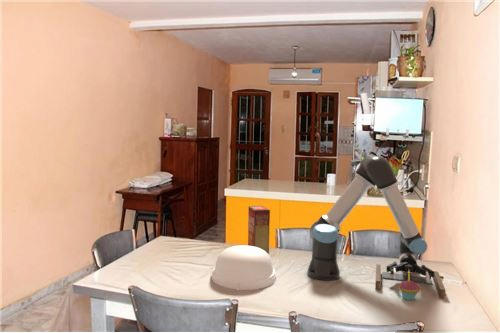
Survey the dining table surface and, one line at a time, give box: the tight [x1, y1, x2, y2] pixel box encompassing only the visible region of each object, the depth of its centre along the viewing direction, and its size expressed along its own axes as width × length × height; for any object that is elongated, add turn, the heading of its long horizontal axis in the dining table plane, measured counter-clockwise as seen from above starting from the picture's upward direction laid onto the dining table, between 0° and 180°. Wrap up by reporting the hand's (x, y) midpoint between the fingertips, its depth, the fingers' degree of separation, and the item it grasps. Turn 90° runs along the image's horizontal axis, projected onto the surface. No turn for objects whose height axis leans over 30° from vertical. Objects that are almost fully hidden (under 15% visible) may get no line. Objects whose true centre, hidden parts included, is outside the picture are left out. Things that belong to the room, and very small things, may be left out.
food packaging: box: [247, 205, 271, 255], centre depth 236 cm, size 13×9×25 cm
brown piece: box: [374, 264, 446, 300], centre depth 192 cm, size 28×24×4 cm
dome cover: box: [211, 244, 277, 291], centre depth 195 cm, size 32×30×14 cm
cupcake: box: [398, 271, 421, 301], centre depth 176 cm, size 9×8×12 cm
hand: (411, 277), depth 182 cm, fingers open, 13 cm apart
